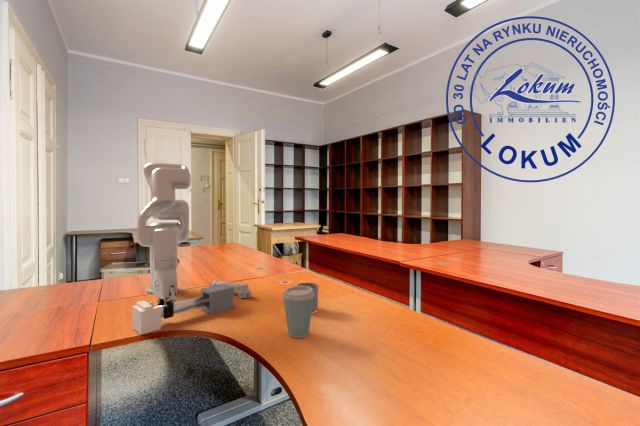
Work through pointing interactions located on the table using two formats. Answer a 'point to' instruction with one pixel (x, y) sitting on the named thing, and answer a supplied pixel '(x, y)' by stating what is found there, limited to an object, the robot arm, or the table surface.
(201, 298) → the tube
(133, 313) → the socket
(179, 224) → the robot arm
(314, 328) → the table surface
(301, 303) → the disposable coffee cup
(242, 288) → the grey stepped bar
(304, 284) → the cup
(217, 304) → the grey rectangular box
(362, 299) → the table surface
